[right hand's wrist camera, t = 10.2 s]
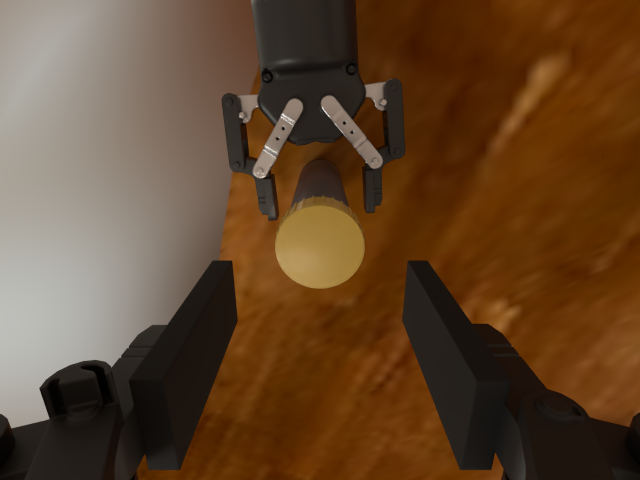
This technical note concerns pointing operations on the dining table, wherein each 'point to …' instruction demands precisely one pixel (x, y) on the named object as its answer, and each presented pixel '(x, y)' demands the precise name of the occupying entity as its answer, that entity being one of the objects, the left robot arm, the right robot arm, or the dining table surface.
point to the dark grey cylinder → (319, 182)
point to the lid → (319, 242)
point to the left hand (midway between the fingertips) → (321, 214)
